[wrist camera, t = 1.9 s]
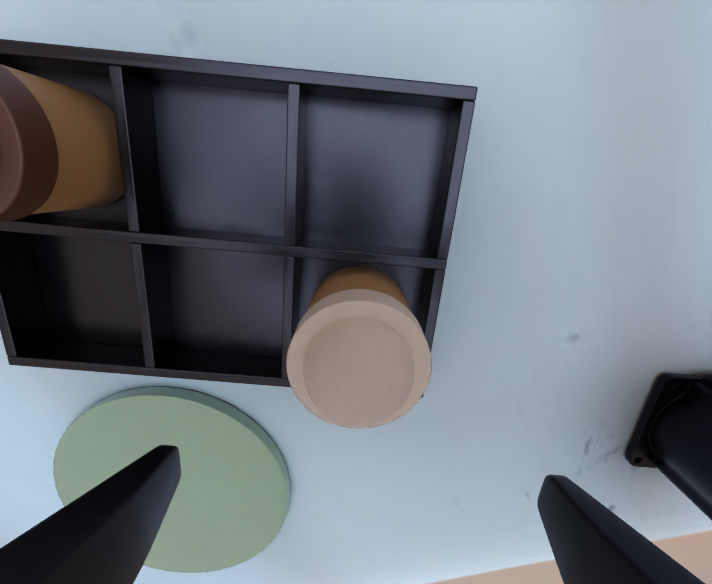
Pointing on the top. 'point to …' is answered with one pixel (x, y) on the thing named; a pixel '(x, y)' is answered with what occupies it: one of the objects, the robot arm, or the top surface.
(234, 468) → the plate
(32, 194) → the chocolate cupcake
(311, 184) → the dark grey compartment tray
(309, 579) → the top surface
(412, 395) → the vanilla cupcake
